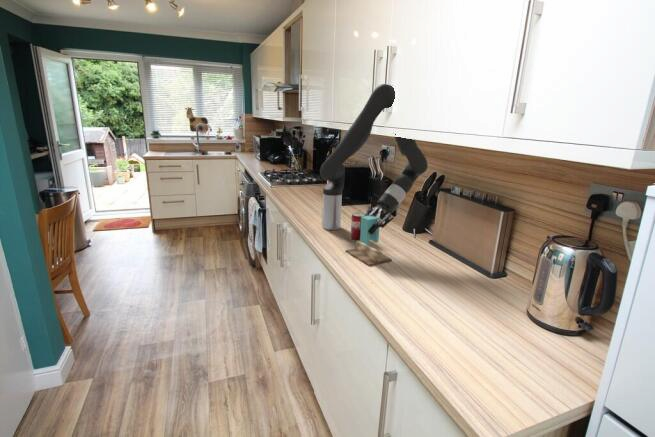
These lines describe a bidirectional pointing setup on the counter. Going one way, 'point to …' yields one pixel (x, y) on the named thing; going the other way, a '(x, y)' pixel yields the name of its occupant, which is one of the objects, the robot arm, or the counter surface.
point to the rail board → (368, 254)
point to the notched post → (365, 226)
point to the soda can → (356, 226)
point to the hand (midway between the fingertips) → (365, 231)
